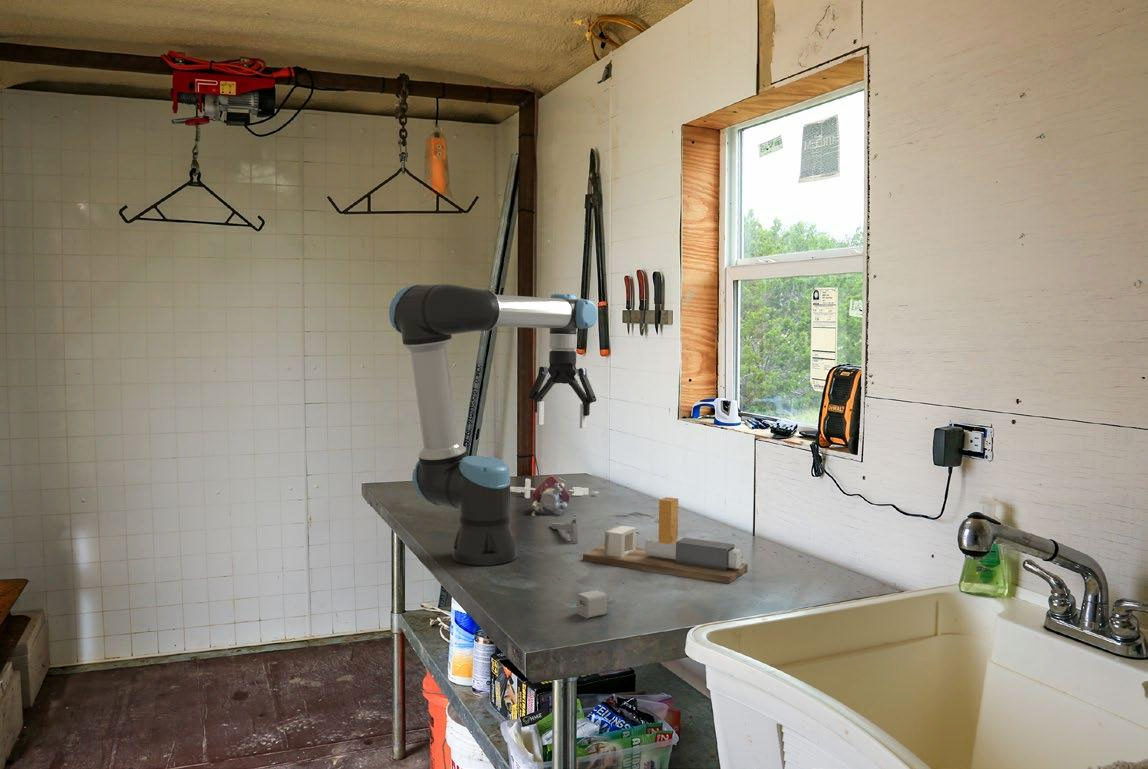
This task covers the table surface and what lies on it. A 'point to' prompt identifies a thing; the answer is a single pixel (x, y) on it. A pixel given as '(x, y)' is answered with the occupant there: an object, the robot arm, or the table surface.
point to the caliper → (568, 529)
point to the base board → (663, 565)
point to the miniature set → (577, 490)
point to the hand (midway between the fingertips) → (561, 426)
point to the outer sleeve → (702, 554)
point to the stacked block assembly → (676, 535)
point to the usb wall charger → (592, 604)
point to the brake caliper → (550, 498)
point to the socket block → (620, 541)
